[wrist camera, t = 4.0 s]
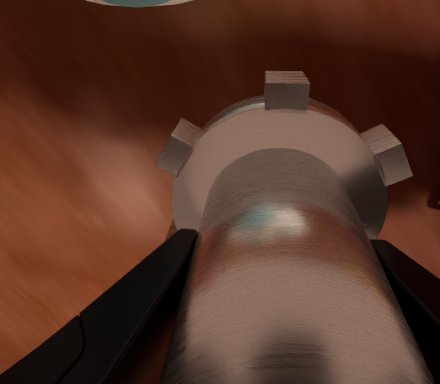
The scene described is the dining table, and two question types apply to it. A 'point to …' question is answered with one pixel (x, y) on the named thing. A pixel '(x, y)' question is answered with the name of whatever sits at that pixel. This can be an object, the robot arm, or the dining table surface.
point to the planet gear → (286, 246)
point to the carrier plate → (139, 2)
